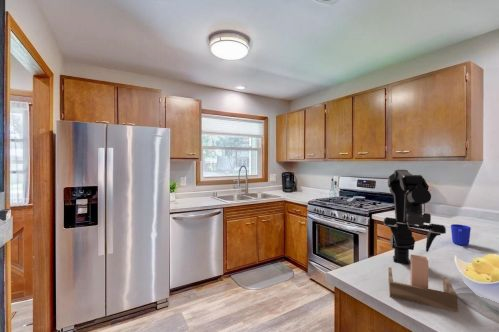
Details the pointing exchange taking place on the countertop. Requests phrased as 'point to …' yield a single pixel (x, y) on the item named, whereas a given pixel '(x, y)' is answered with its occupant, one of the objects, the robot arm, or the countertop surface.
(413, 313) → the countertop surface
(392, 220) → the robot arm
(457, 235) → the mug
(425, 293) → the brown u-shaped piece
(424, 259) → the block
